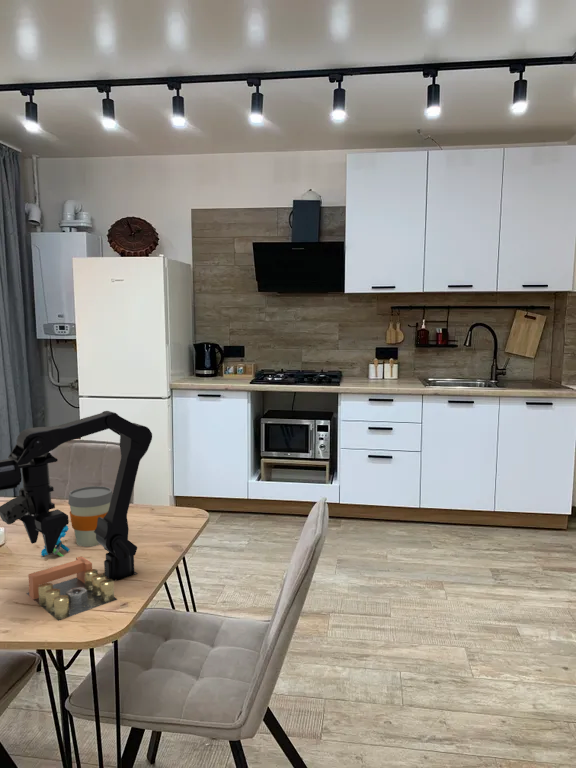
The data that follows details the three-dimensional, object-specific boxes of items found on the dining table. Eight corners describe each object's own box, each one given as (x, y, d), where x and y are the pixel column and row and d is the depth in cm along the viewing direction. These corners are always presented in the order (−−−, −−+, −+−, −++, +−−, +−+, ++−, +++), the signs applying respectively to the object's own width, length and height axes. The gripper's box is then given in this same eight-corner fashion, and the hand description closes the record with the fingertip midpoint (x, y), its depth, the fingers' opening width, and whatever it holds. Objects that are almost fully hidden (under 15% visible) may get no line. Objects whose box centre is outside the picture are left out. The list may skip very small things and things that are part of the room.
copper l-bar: (26, 593, 139) (25, 572, 139) (82, 576, 149) (81, 556, 148) (36, 601, 135) (35, 579, 135) (92, 583, 145) (92, 562, 144)
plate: (82, 577, 149) (82, 560, 149) (117, 601, 136) (117, 582, 136) (26, 595, 140) (25, 577, 139) (58, 623, 127) (57, 602, 126)
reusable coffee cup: (78, 552, 166) (76, 500, 164) (63, 539, 175) (61, 491, 174) (121, 542, 174) (119, 492, 172) (104, 530, 183) (102, 483, 182)
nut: (80, 594, 139) (80, 585, 139) (89, 601, 136) (89, 591, 135) (64, 600, 136) (63, 590, 136) (73, 606, 133) (72, 597, 133)
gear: (43, 541, 170) (67, 517, 169) (59, 553, 171) (83, 530, 171) (34, 561, 159) (60, 536, 159) (52, 574, 161) (78, 549, 161)
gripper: (-15, 483, 136) (-9, 547, 138) (15, 500, 123) (21, 571, 125) (33, 473, 144) (38, 534, 146) (67, 488, 131) (72, 555, 133)
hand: (41, 548), depth 137 cm, fingers open, 9 cm apart
